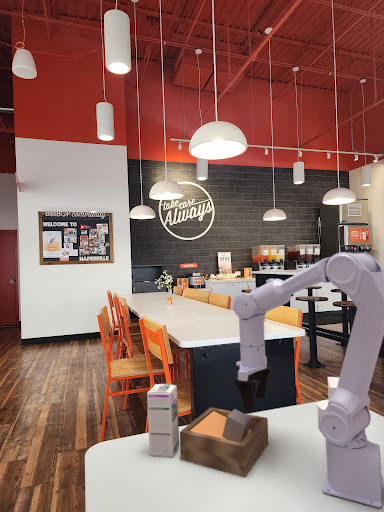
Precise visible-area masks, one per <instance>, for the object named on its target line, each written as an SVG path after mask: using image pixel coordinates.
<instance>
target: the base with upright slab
mask: <svg viewBox="0 0 384 512" xmlns="http://www.w3.org/2000/svg"><path fill="white" fill-rule="evenodd" d="M339 378H340V376H339V377H336V376H327V392H328V393H327V394H328V399H324V400H320V401H318V402H317V404H316V405H317V406H316V407H317V420H318V419H319V416H320V414H321V412H322V411H324V410H325V409H326V407H327V405H328V401H329V399H330V398H331V396H332V394H333V393H334V391H335V390H336V388H337V385H338V381H339ZM317 425H318V430H319V431H320V428H319V424H317Z"/></svg>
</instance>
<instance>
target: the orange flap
mask: <svg viewBox="0 0 384 512" xmlns="http://www.w3.org/2000/svg"><path fill="white" fill-rule="evenodd" d="M226 418H227V417H225V416H223V415H221V414H219V413H217V412H215V411H213V412H212V413H211V414H209V415H208V416H207V417H206V418H205V419H203V420H202V421H201V422H200V423H199V424H197V425H196V426H195V427H194V428H192V429H191V430H190V431H191V432H196V433H200V434H204V435H209V436H213V437H217V438H222V439H226V438H224V437H222V435H223V431H224V427H225V422H226ZM250 431H251V430H250V429H249V432H250ZM249 432H248V434H249ZM226 440H227V439H226Z"/></svg>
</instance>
